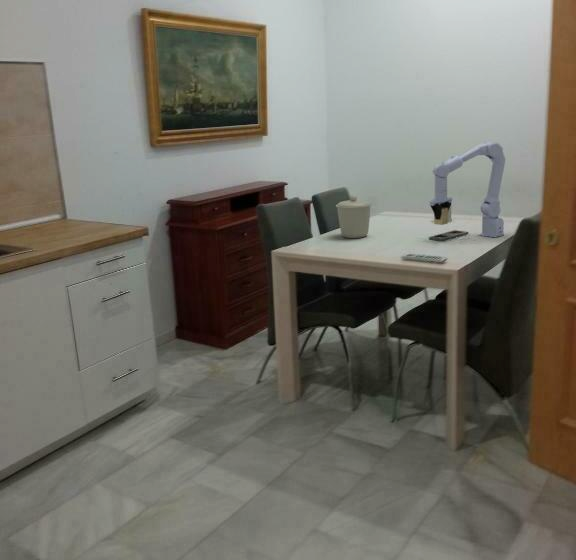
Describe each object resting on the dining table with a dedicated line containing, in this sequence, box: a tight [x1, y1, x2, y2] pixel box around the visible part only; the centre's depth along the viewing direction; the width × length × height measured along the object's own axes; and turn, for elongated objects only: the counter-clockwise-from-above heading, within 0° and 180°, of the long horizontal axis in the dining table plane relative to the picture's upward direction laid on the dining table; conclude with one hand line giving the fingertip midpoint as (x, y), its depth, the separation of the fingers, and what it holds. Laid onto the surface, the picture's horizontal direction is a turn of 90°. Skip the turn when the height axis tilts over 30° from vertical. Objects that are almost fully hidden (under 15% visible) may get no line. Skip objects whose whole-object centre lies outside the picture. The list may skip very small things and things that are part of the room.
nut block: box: [433, 207, 449, 226], centre depth 302 cm, size 4×4×8 cm
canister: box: [335, 194, 373, 239], centre depth 321 cm, size 18×18×21 cm
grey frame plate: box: [428, 229, 469, 242], centre depth 309 cm, size 8×20×1 cm, turn 129°
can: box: [439, 202, 453, 223], centre depth 348 cm, size 9×9×12 cm
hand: (441, 218), depth 303 cm, fingers closed on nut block, 4 cm apart
